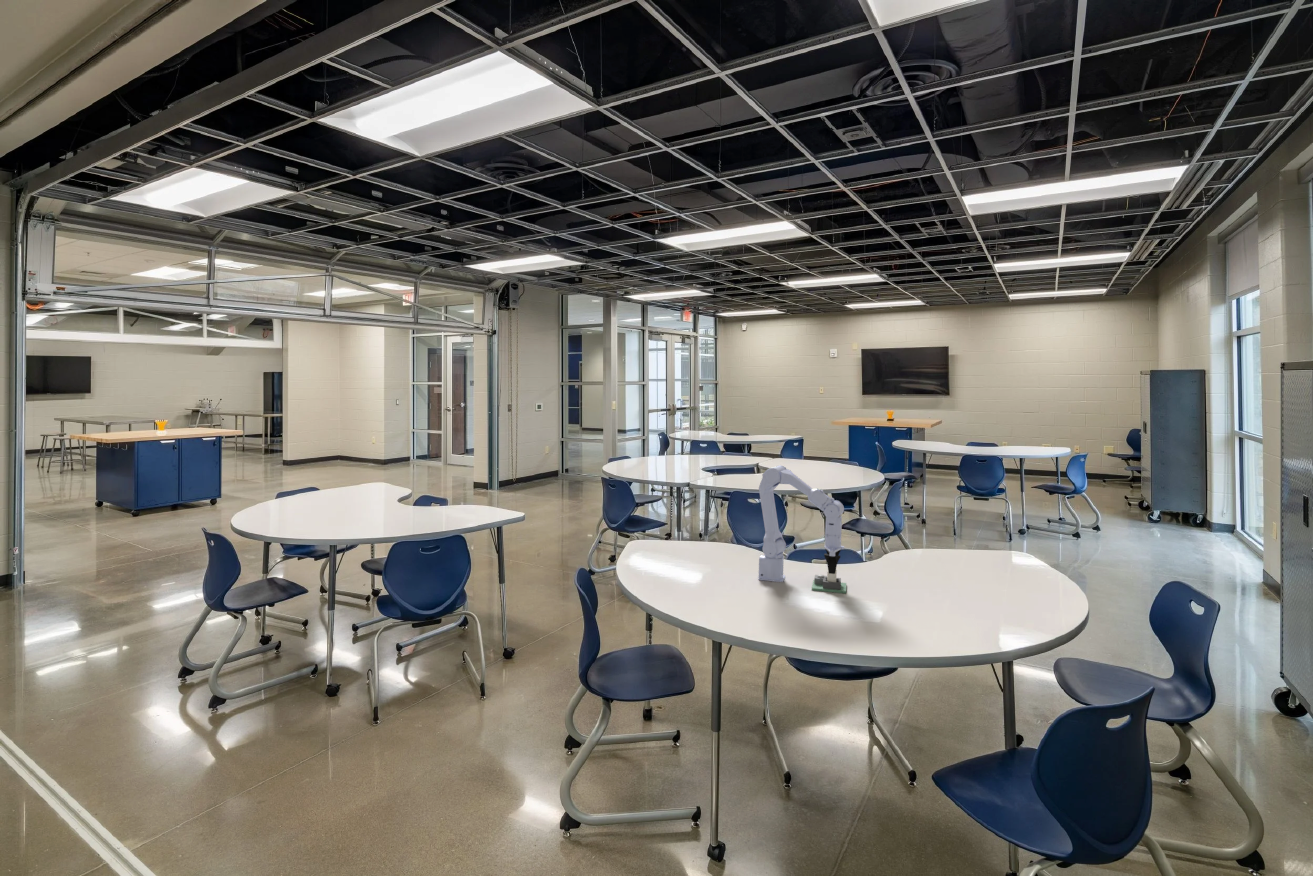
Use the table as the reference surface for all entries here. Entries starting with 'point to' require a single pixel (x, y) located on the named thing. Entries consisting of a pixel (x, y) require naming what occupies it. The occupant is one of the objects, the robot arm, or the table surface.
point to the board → (828, 585)
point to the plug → (831, 577)
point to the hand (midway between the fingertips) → (832, 570)
